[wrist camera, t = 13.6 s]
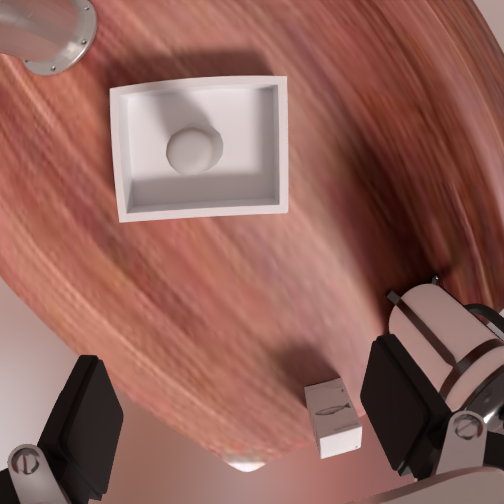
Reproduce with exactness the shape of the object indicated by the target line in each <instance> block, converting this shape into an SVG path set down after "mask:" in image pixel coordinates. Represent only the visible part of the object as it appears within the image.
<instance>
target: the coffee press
mask: <svg viewBox="0 0 504 504" xmlns="http://www.w3.org/2000/svg"><path fill="white" fill-rule="evenodd" d="M437 279H438V280H439V285H440V287H441V288H443V289H444V287H443V280H442V278H441V277H440V276H439V275H438V274H435V275H434V276H433V277H432V281H431V284H422V285H419V286H416V287H414V288H412V289H410V290H409V291H408V292H406V293H405V294H404V295H403V296H402V297H400V296H399V295H398V294H397V293H395V292H394V291H393V290H392V289H390V290H389V291H388V292H387V294H386V295H385V296H386V297H387V298H388V299H390V300H391V301H392V302H393V303H394V304H395V306H394V308H393V310H392V313H391V315H390V319H389V331H390V334H395V335H396V337H397V338H398V339H399V341H400V342H401V343H402V345H403V346H404V347H405V348H406V350H407V351H408V352H409V354H410V355H411V356H412V358H413V359H414V360H415V362H416V363H417V364H418V366H419V367H420V368H421V369H422V370H423V372H424V373H425V375H426V376H427V377H428V379H429V380H430V381H431V383H432V384H433V386H434V387H435V388H436V390H437V391H438V393H439V394H440V395H441V397H442V398H443V400H444V401H445V402H446V404H447V405H448V407H449V408H450V410H451V411H452V412H453V414H456V413H458V412H460V411H472V412H474V413H477V414H478V415H480V416H481V417H482V418H483V419H484V420H485V423H486V425H487V431H491V432H494V431H496V430H497V429H498V428H500V427H501V426H502V425H503V427H504V341H503V340H502V339H500V338H499V337H498V336H497V335H496V334H495V333H494V332H493V331H492V330H491V329H489V328H488V326H486V325H485V324H484V323H483V322H482V321H481V320H480V319H479V318H477V317H476V316H475V315H474V314H480V315H483V316H484V317H486V318H487V319H488V320H489V321H491V322H492V323H493V324H494V325H495V326H496V327H498V328H499V329H500V330H501V331H502V332H503V333H504V318H503V317H502V316H501V315H499V314H498V313H497V312H496V311H494V310H493V309H491V308H490V307H488V306H485V305H482V304H468V305H463V304H461V303H460V302H459V301H458V300H457V299H456V298H454V297H453V296H452V295H451V294H450V293H448V292H447V291H446V290H445V289H444V290H445V291H446V292H447V293H448V294H447V293H446V292H445V291H444V290H443V289H441V288H440V287H438V286H436V281H437ZM450 295H451V296H450ZM457 301H458V302H459V303H460V304H461V305H460V304H459V303H458V302H457ZM472 314H473V315H474V316H475V317H476V318H477V319H478V320H477V319H476V318H475V317H474V316H473V315H472ZM481 322H482V323H483V324H484V325H485V326H486V327H487V328H488V329H487V328H486V327H485V326H484V325H483V324H482V323H481ZM489 330H490V331H489ZM492 332H493V333H494V334H495V335H496V336H497V337H498V338H499V339H498V338H497V337H496V336H495V335H494V334H493V333H492ZM503 429H504V428H503Z"/></svg>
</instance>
